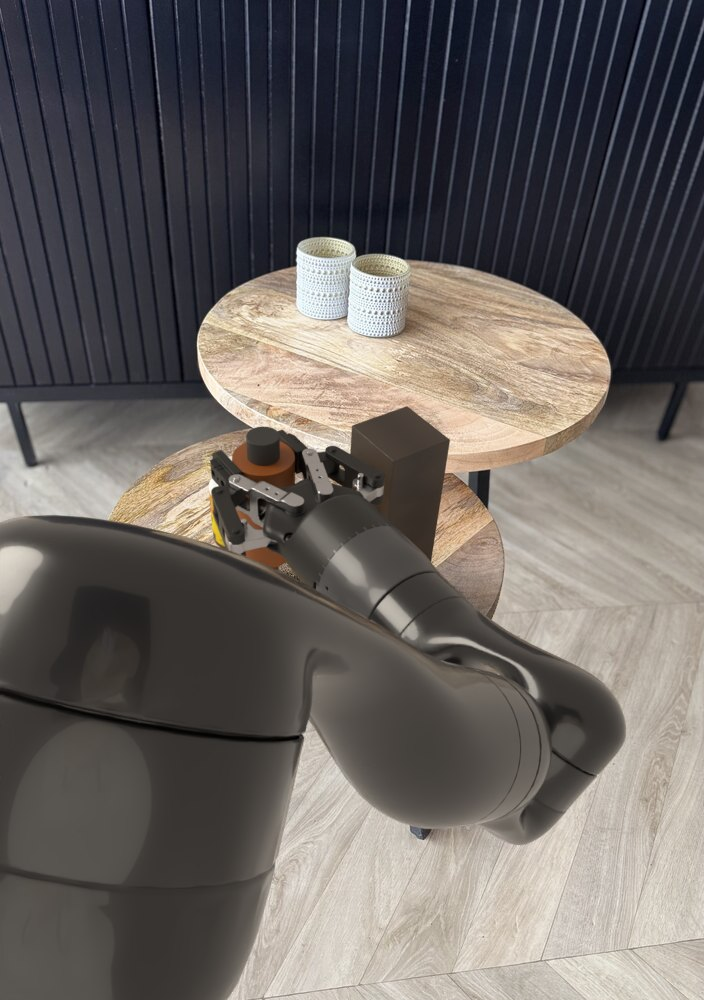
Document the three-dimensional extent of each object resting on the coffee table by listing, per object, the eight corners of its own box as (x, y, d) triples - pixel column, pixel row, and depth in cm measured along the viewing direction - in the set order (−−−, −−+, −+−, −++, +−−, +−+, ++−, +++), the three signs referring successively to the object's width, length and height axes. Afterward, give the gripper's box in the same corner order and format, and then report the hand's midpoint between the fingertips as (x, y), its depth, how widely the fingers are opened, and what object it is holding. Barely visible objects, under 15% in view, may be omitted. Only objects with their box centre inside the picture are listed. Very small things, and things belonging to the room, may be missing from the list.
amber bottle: (254, 576, 68) (249, 461, 60) (227, 541, 71) (219, 428, 63) (305, 555, 70) (306, 442, 62) (277, 523, 73) (275, 411, 66)
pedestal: (375, 639, 79) (393, 461, 65) (341, 601, 83) (351, 425, 69) (423, 615, 82) (450, 439, 68) (388, 579, 86) (407, 405, 72)
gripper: (451, 496, 57) (321, 387, 67) (275, 572, 50) (161, 438, 61) (439, 572, 62) (319, 459, 72) (277, 651, 55) (171, 513, 66)
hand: (247, 450), depth 66 cm, fingers closed on amber bottle, 5 cm apart
